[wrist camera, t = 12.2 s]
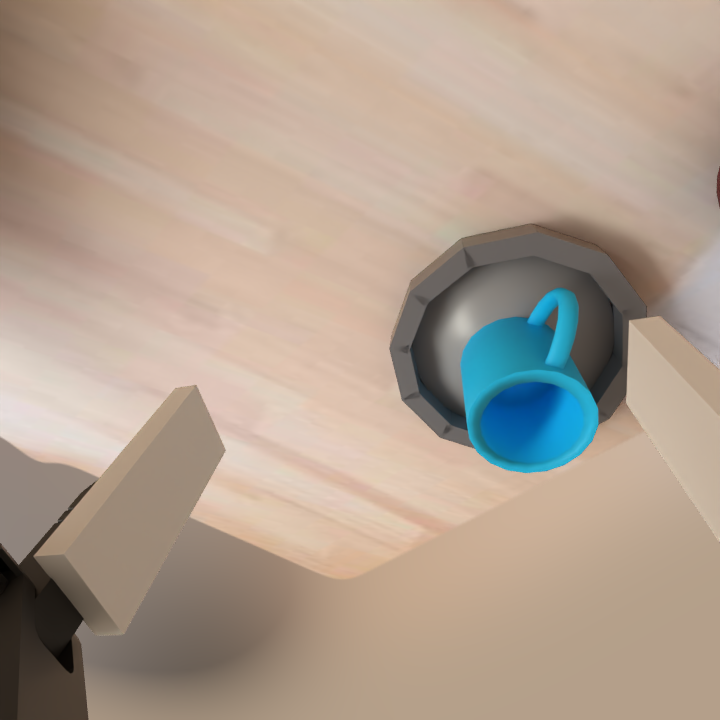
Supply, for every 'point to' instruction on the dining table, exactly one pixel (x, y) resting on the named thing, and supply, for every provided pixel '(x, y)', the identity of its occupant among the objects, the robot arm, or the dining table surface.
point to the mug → (528, 389)
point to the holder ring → (509, 316)
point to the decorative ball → (718, 187)
